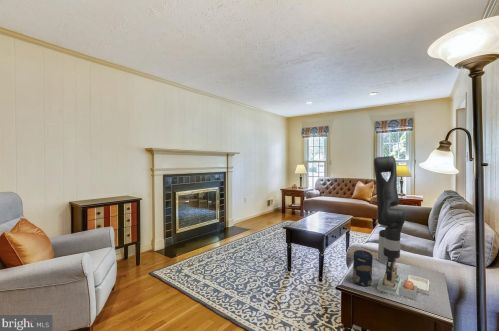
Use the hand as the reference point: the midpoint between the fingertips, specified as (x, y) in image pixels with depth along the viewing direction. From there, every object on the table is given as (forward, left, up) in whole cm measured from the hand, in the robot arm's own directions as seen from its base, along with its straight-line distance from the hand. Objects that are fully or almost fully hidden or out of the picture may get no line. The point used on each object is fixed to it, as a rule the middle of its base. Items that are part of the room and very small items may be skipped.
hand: (390, 276), depth 129 cm
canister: (+2, -13, -7) cm, 15 cm away
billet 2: (0, 0, -6) cm, 6 cm away
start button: (-1, +8, -7) cm, 11 cm away
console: (-1, +8, -7) cm, 11 cm away
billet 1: (-11, 0, -6) cm, 12 cm away
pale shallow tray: (-13, +12, -7) cm, 19 cm away
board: (-5, 0, -7) cm, 9 cm away
